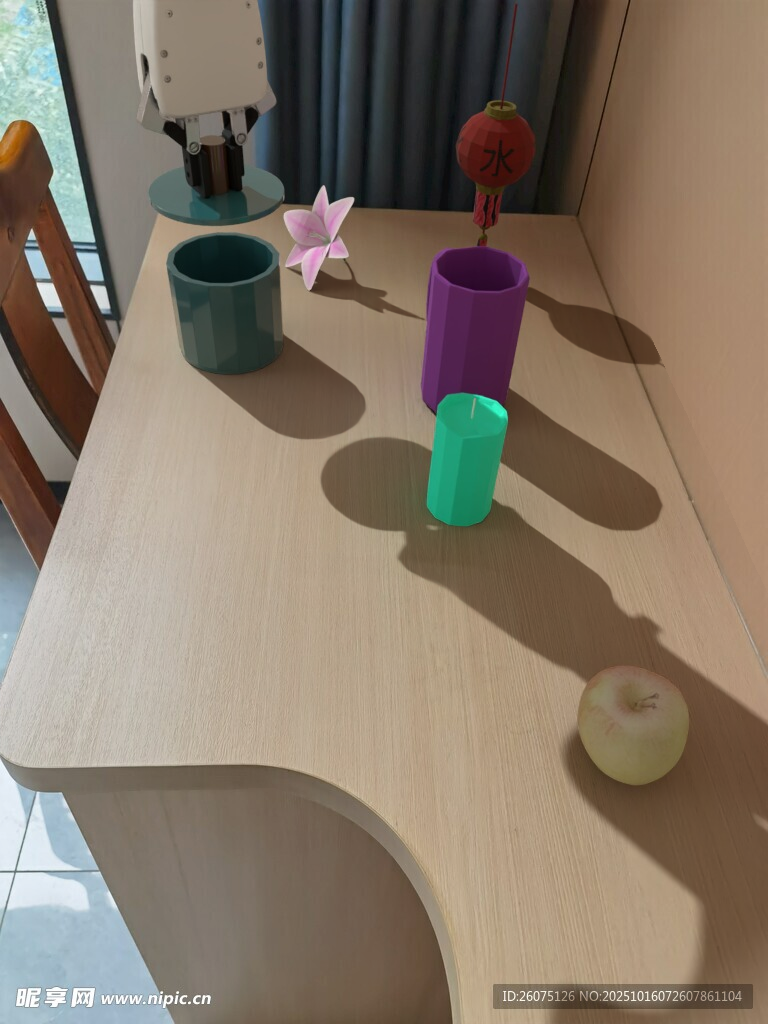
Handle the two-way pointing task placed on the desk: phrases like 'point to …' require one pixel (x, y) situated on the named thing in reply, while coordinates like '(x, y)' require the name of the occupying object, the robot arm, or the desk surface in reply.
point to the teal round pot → (227, 301)
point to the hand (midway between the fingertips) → (216, 187)
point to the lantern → (494, 153)
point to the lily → (316, 234)
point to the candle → (465, 458)
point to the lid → (217, 192)
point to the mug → (472, 323)
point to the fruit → (633, 724)
